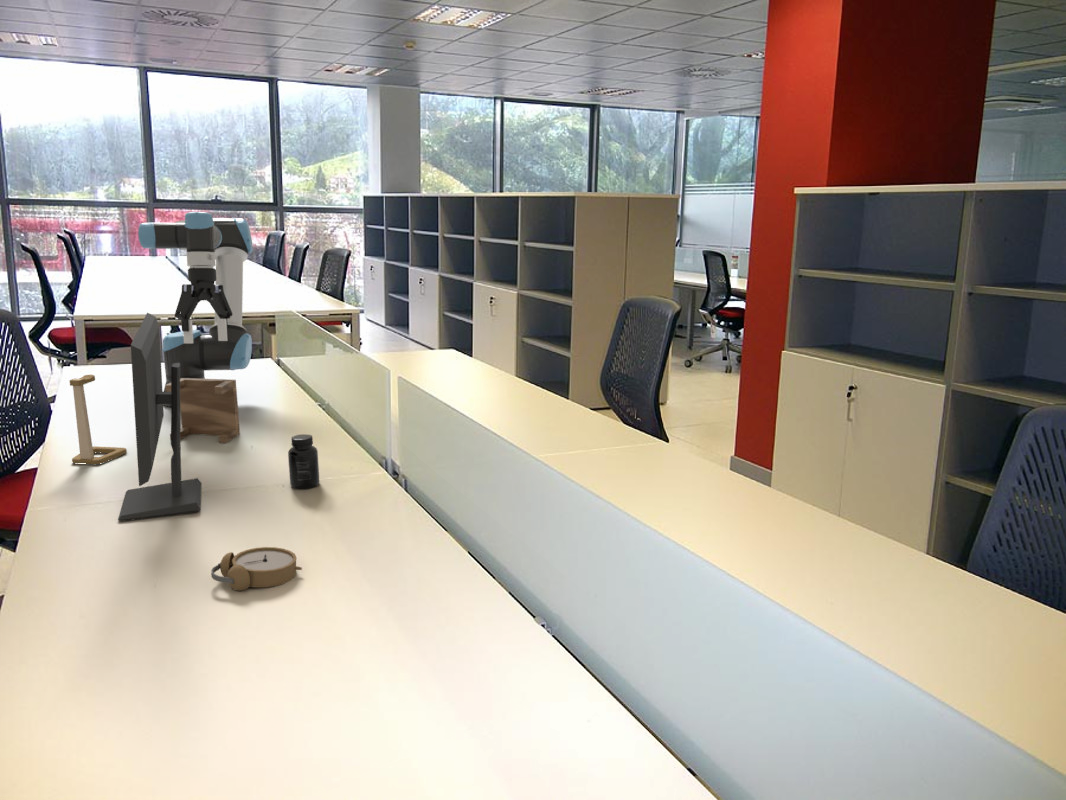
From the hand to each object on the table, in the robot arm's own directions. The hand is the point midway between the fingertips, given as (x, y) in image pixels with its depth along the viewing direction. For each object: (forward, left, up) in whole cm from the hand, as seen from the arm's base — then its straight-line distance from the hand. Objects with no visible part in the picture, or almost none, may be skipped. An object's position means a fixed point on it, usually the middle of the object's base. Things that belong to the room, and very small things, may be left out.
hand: (206, 342), depth 238 cm
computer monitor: (+60, +16, -26) cm, 67 cm away
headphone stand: (+32, -16, -26) cm, 44 cm away
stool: (+11, +3, -25) cm, 28 cm away
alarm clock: (+93, +52, -26) cm, 109 cm away
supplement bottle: (+45, +44, -26) cm, 68 cm away
